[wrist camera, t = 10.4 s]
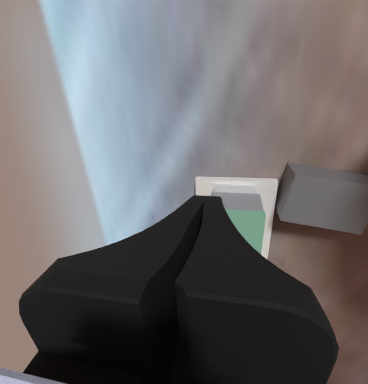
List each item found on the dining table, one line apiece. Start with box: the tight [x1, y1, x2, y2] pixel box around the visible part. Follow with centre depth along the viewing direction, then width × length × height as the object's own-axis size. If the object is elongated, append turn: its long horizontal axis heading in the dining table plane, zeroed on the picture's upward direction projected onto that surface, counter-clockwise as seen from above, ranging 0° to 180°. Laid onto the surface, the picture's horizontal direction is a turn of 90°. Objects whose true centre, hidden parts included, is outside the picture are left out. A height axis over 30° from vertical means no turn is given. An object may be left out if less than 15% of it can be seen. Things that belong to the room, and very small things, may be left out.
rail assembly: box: [195, 177, 278, 259], centre depth 21 cm, size 7×15×5 cm, turn 2°
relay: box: [275, 163, 368, 235], centre depth 18 cm, size 6×4×3 cm, turn 84°
